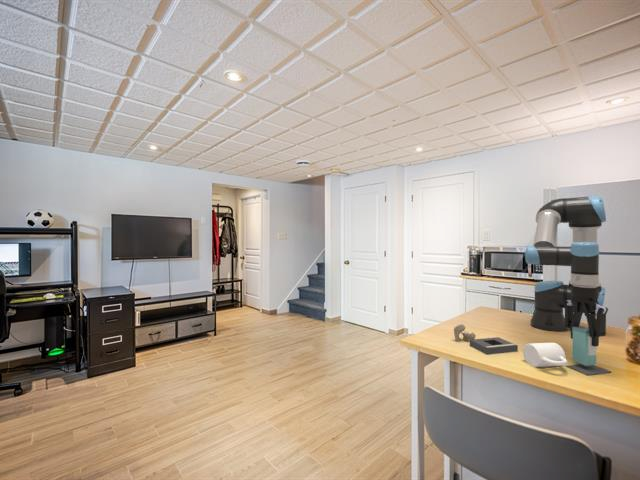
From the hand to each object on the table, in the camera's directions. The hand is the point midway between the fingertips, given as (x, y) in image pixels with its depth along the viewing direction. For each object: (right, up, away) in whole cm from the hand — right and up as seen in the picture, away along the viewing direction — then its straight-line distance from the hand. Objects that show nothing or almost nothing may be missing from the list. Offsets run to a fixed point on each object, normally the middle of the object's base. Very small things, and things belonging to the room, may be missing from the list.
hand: (584, 351), depth 108 cm
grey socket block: (-22, -6, +18) cm, 29 cm away
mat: (0, -6, 0) cm, 6 cm away
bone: (-29, -6, +28) cm, 41 cm away
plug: (0, -4, 0) cm, 4 cm away
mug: (-12, -6, +1) cm, 14 cm away
